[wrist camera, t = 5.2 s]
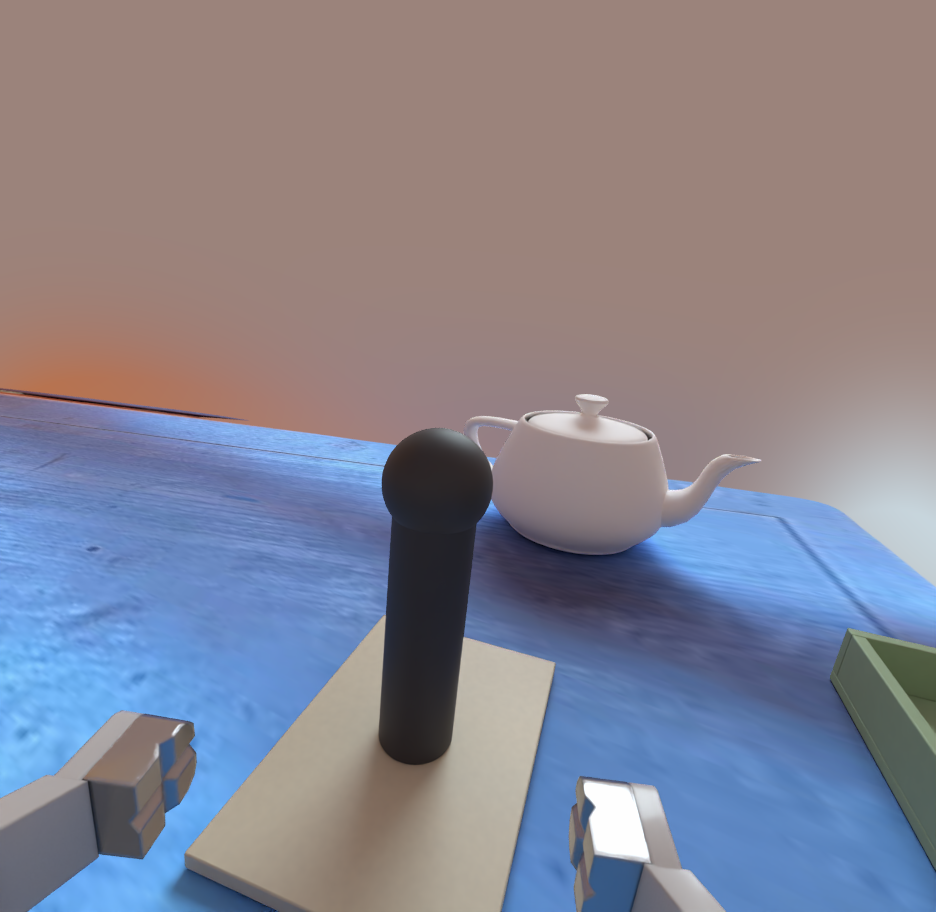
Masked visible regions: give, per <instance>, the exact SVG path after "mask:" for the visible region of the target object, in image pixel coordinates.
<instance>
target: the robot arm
mask: <svg viewBox="0 0 936 912" xmlns="http://www.w3.org/2000/svg"><path fill="white" fill-rule="evenodd" d="M194 736H195V732H194V724H193V723H192V722H189V721H185V720H179V719H173V718H167V717H161V716H155V715H150V714H142V713H136V712H130V711H124V710H122V711H120V712H118V713H116V714H114V715H113V716H112V717H111V718H110V719H109V720H108V721H107V722H106V723H105V724H104V725H103V726H102V727H101V728H100V729H99V730H98V731H97V732H96V733H95V734H94V735H93V736H92V737H91V738H90V739H89V740H88V741H87V742H86V743H85V744H84V745H83V746H82V747H81V748H80V749H79V751H78V752H77V753H76V754H75V755H74V756H73V757H72V758H71V759H70V760H69V761H68V762H67V763H66V764H65V765H64V766H63V767H62V768H61V769H60V770H59V771H58V772H57V773H56V774H55V775H54V776H51V775H46V776H44V777H42V778H40V779H38V780H36V781H34V782H32V783H30V784H28V785H26V786H24V787H22V788H20V789H18V790H16V791H14V792H12V793H10V794H8V795H6V796H4V797H2V798H0V912H27V911H29V910H30V909H31V908H33V907H34V906H35V905H37V904H38V903H39V902H40V901H42V900H43V899H44V898H46V897H47V896H48V895H50V894H51V893H52V892H54V891H55V890H56V889H58V888H59V887H60V886H61V885H63V884H64V883H65V882H67V881H68V880H69V879H71V878H72V877H73V876H75V875H76V874H77V873H78V872H80V871H81V870H82V869H84V868H85V867H86V866H88V865H89V864H90V863H92V862H93V861H94V860H96V859H97V858H98V857H99V854H102V855H110V856H119V857H127V858H136V859H143V858H144V857H145V855H146V854H147V852H148V851H149V849H150V848H151V846H152V845H153V843H154V842H155V840H156V839H157V837H158V836H159V834H160V833H161V831H162V830H163V828H164V827H165V813H166V812H168V811H169V810H171V809H172V808H174V807H176V806H177V805H179V804H180V802H181V801H182V799H183V797H184V796H185V794H186V793H187V791H188V789H189V787H190V784H191V782H192V779H193V777H194V774H195V769H196V763H197V761H196V752H195V751H194V749H193V748H192V747H191V746H190V744H189V743H190V742H191V740H192V739H193V738H194ZM576 798H577V803H576V804H575V805H574V806H573V807H572V810H571V816H570V824H569V850H570V860H571V863H572V865H573V866H574V868H575V869H576V870H577V873H576V878H575V883H574V895H575V903H576V912H726V911H725V910H724V909H723V907H722V906H721V905H720V904H719V903H718V902H717V901H716V899H715V898H714V897H713V896H712V895H711V894H710V893H709V891H708V890H707V889H706V888H705V887H704V886H703V885H702V883H701V882H700V881H699V880H698V879H697V878H696V877H695V875H694V874H693V873H692V872H691V871H690V870H685V869H682V867H681V864H680V860H679V857H678V854H677V851H676V848H675V844H674V841H673V838H672V835H671V832H670V829H669V825H668V822H667V819H666V816H665V813H664V809H663V806H662V803H661V800H660V797H659V794H658V791H657V789H656V788H655V787H654V786H651V785H644V784H636V783H627V782H623V781H615V780H607V779H600V778H592V777H584V776H580V777H579V779H578V781H577V785H576Z"/></svg>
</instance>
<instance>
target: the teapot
mask: <svg viewBox="0 0 936 912" xmlns="http://www.w3.org/2000/svg"><path fill="white" fill-rule="evenodd" d="M575 400H576V402H577V404H578V405H579V407H580V408H581V411H582V412H571V411H536V412H531V413H527V414H526V415H524V416H522V417H521V418H520V420H519V421H514V420H509V419H504V418H499V417H491V416H478V417H473V418H471V419H469V420H468V421H467V422H466V424H465V427H464V435H465V436H467V437H469V438H470V439H471V440H473V441H474V442H475V443H476V444H477V445H478V446H479V447H480V444H479V441H478V435H477V430H478V427H480V426H491V427H497V428H502V429H507V430H512V432H511V434H510V435H509V437H508V438H507V440H506V442H505V444H504V445H503V447H502V449H501V451H500V453H499V455H498V457H497V459H496V461H495V463H494V465H492V464H491V463H490V462H489V464H490V467H491V471H492V475H493V492H492V497H491V500H492V502H493V503H494V505H495V507H496V508H497V510H498V511H499V513H500V514H501V515H502V516H503V517H504V518H505V519H506V520H507V521H508V522H509V523H510V525H511V526H512V527H513V528H514V529H515V530H516V531H517V532H518V533H520V534H521V535H523V536H524V537H526V538H528V539H530V540H532V541H534V542H536V543H539V544H542V545H544V546H547V547H550V548H554V549H557V550H561V551H566V552H571V553H577V554H587V555H606V554H614V553H618V552H622V551H625V550H627V549H628V548H630V547H632V546H634V545H637V544H639V543H641V542H643V541H645V540H646V539H648V538H650V537H652V536H653V535H654V534H655V533H656V532H657V531H658V530H659V529H660V527H672V526H676V525H679V524H682V523H685V522H687V521H689V520H690V519H691V518H692V517H694V516H695V515H696V514H698V512H699V511H700V510H701V509H702V507H703V506H704V505H705V503H706V502H707V501H708V499H709V498H710V496H711V494H712V493H713V491H714V490H715V488H716V487H717V486H718V484H719V483H720V481H721V480H722V479H723V478H724V477H725V476H726V475H728V474H729V473H730V472H731V471H733V470H734V469H736V468H739V467H742V466H746V465H748V464H752V463H758V462H761V460H759V459H755V458H751V457H746V456H740V455H732V454H725V455H722V456H719V457H717V458H715V459H714V460H712V461H711V462H710V463H709V464H708V465H707V466H706V467H705V469H704V470H703V471H702V473H701V474H700V476H699V477H698V478H697V480H696V481H695V482H694V483H693V484H692V485H691V486H689V487H687V488H685V489H681V490H668V482H667V476H666V471H665V466H664V462H663V458H662V455H661V451H660V447H659V444H658V440H657V438H656V436H655V435H654V433H652V432H651V431H650V430H648V429H646V428H644V427H642V426H639V425H636V424H633V423H630V422H627V421H623V420H619V419H615V418H611V417H606V416H600V415H597V414H598V412H599V411H600V410H601V409H603V408H604V407H605V406H606V405H607V404H608V403H609V402H608V400H607V399H605V398H603V397H600V396H595V395H589V394H582V395H577V396H576V397H575ZM480 448H481V447H480ZM481 450H482V449H481Z"/></svg>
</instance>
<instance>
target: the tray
mask: <svg viewBox="0 0 936 912" xmlns="http://www.w3.org/2000/svg"><path fill="white" fill-rule="evenodd" d="M830 679H831V681H832V683H833V685H834V686H835V688H836V690H837V692H838V694H839V695H840V697H841V699H842V701H843V703H844V705H845V706H846V708H847V710H848V712H849V714H850V715H851V717H852V719H853V721H854V723H855V725H856V726H857V728H858V730H859V732H860V734H861V735H862V737H863V739H864V741H865V743H866V745H867V746H868V748H869V750H870V752H871V754H872V755H873V757H874V759H875V761H876V763H877V765H878V766H879V768H880V770H881V772H882V774H883V775H884V777H885V779H886V781H887V783H888V785H889V786H890V788H891V790H892V792H893V794H894V795H895V797H896V799H897V801H898V803H899V805H900V806H901V808H902V810H903V812H904V814H905V815H906V817H907V819H908V821H909V823H910V825H911V826H912V828H913V830H914V832H915V834H916V836H917V837H918V839H919V841H920V843H921V845H922V846H923V848H924V850H925V852H926V854H927V856H928V857H929V859H930V861H931V863H932V865H933V866H934V868H935V870H936V648H932V647H928V646H924V645H919V644H915V643H911V642H906V641H902V640H898V639H893V638H889V637H885V636H880V635H876V634H872V633H867V632H863V631H859V630H854V629H850V628H848V629H847V631H846V634H845V637H844V639H843V642H842V645H841V648H840V651H839V653H838V656H837V659H836V662H835V664H834V667H833V670H832V673H831V675H830Z"/></svg>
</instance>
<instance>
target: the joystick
mask: <svg viewBox="0 0 936 912" xmlns="http://www.w3.org/2000/svg"><path fill="white" fill-rule="evenodd" d="M492 492H493V475H492V471H491V467H490V464H489V461H488V459H487V457H486V456H485V454H484V452H483V451H482V450H481V448H480V447H479V446H478V445H477V444H476V443H475V442H474V441H473V440H471V439H470V438H469V437H467V436H465V435H463V434H461V433H460V432H457V431H454V430H450V429H445V428H431V429H425V430H422V431H419V432H416V433H414V434H412V435H410V436H408V437H407V438H405V439H404V440H402V441H401V442H400V443H399V444H398V445H397V446H396V447H395V448H394V450H393V451H392V452H391V454H390V456H389V457H388V459H387V462H386V464H385V466H384V470H383V474H382V493H383V498H384V501H385V504H386V507H387V509H388V511H389V512H390V514H391V515H392V526H391V542H390V558H389V574H388V590H387V606H386V615H384V616H383V617H382V618H381V619H380V620H379V622H378V623H377V624H376V625H375V626H374V627H373V629H372V630H371V631H370V632H369V633H368V635H367V636H366V637H365V638H364V639H363V641H362V642H361V643H360V644H359V645H358V647H357V648H356V649H355V650H354V651H353V653H352V654H351V655H350V656H349V657H348V659H347V660H346V661H345V662H344V663H343V665H342V666H341V667H340V668H339V669H338V670H337V672H336V673H335V674H334V675H333V676H332V678H331V679H330V680H329V681H328V682H327V684H326V685H325V686H324V687H323V688H322V690H321V691H320V692H319V693H318V694H317V696H316V697H315V698H314V699H313V700H312V702H311V703H310V704H309V705H308V706H307V707H306V709H305V710H304V711H303V712H302V713H301V715H300V716H299V717H298V718H297V719H296V721H295V722H294V723H293V724H292V725H291V727H290V728H289V729H288V730H287V731H286V733H285V734H284V735H283V736H282V737H281V739H280V740H279V741H278V742H277V743H276V745H275V746H274V747H273V748H272V749H271V750H270V752H269V753H268V754H267V755H266V756H265V758H264V759H263V760H262V761H261V762H260V764H259V765H258V766H257V767H256V768H255V770H254V771H253V772H252V773H251V774H250V776H249V777H248V778H247V779H246V780H245V782H244V783H243V784H242V785H241V786H240V788H239V789H238V790H237V791H236V792H235V793H234V795H233V796H232V797H231V798H230V799H229V801H228V802H227V803H226V804H225V805H224V807H223V808H222V809H221V810H220V811H219V813H218V814H217V815H216V816H215V817H214V819H213V820H212V821H211V822H210V823H209V825H208V826H207V827H206V828H205V829H204V830H203V832H202V833H201V834H200V835H199V836H198V838H197V839H196V840H195V841H194V842H193V844H192V845H191V846H190V847H189V848H188V850H187V851H186V852H185V854H184V857H185V867H186V868H187V869H190V870H192V871H194V872H196V873H198V874H200V875H202V876H204V877H207V878H209V879H211V880H213V881H215V882H217V883H219V884H221V885H224V886H226V887H228V888H230V889H232V890H234V891H236V892H238V893H241V894H243V895H245V896H247V897H249V898H251V899H253V900H256V901H258V902H260V903H262V904H264V905H266V906H268V907H270V908H273V909H275V910H277V911H279V912H501V911H502V907H503V902H504V898H505V893H506V889H507V884H508V880H509V875H510V871H511V866H512V862H513V857H514V852H515V848H516V843H517V839H518V834H519V830H520V825H521V821H522V816H523V812H524V807H525V803H526V798H527V793H528V789H529V784H530V780H531V775H532V771H533V766H534V762H535V757H536V753H537V748H538V744H539V739H540V735H541V730H542V725H543V721H544V716H545V712H546V707H547V703H548V698H549V694H550V689H551V685H552V680H553V676H554V671H555V665H556V664H555V663H554V662H551V661H548V660H544V659H540V658H537V657H533V656H530V655H526V654H523V653H519V652H515V651H512V650H508V649H505V648H501V647H498V646H494V645H491V644H487V643H483V642H480V641H476V640H473V639H469V638H466V637H464V629H465V620H466V612H467V603H468V594H469V585H470V577H471V568H472V559H473V550H474V542H475V533H476V524H477V522H478V521H479V520H480V519H481V518H482V516H483V515H484V514H485V512H486V510H487V508H488V506H489V503H490V501H491V497H492Z"/></svg>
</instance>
